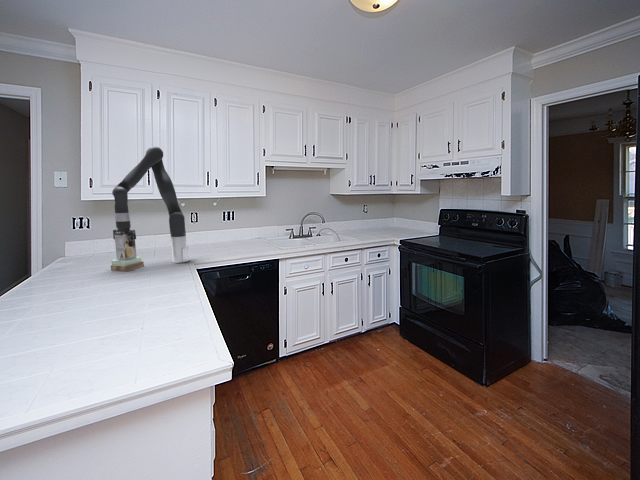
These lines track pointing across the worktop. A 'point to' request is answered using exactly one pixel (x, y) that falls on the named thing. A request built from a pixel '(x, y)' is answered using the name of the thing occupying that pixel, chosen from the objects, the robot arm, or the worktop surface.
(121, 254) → the coffee box
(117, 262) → the top slab
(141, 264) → the bottom slab
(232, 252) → the worktop surface
